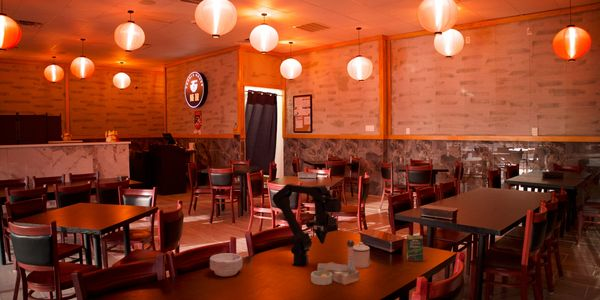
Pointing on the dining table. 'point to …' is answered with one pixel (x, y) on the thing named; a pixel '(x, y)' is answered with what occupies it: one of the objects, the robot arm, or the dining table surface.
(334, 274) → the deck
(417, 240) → the coffee box
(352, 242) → the lever
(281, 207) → the robot arm
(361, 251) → the teacup with lid
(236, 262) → the paper bowls
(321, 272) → the small white bowl
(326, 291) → the dining table surface
